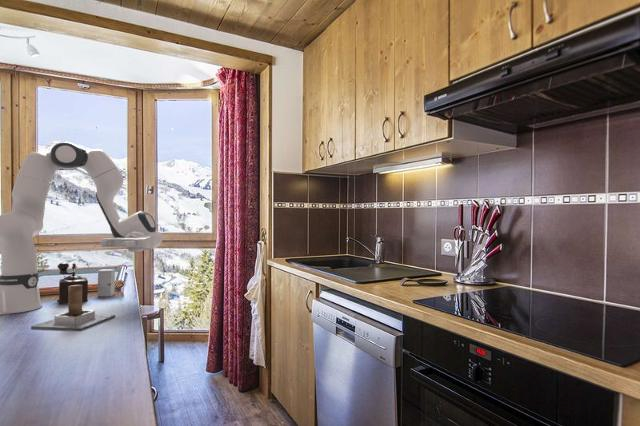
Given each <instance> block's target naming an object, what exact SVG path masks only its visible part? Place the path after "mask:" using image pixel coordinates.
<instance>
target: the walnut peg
mask: <svg viewBox="0 0 640 426" xmlns="http://www.w3.org/2000/svg"><path fill="white" fill-rule="evenodd" d="M67 305H68V311H67V312H68V316H79V315H82V310H83V302H82V285H71V286H68V304H67Z"/></svg>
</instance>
